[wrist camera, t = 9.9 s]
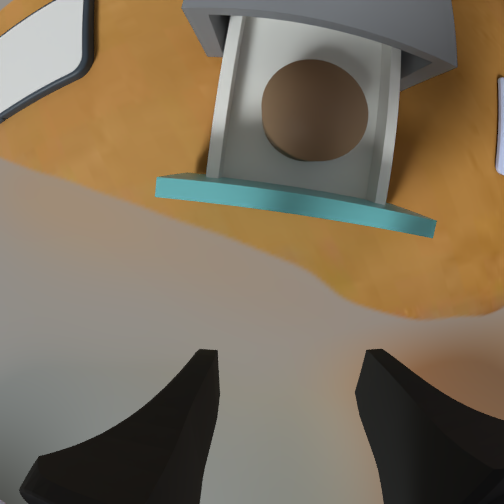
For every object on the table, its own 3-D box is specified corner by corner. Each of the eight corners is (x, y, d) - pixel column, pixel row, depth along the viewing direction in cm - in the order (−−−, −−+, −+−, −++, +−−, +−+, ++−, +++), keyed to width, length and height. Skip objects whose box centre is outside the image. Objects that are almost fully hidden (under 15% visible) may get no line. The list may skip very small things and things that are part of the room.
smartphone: (99, -13, 13) (-28, 69, 14) (90, -22, 12) (-38, 67, 13) (99, 75, 16) (-30, 148, 17) (88, 70, 14) (-42, 149, 15)
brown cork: (351, 89, 14) (372, 73, 10) (340, 168, 15) (361, 170, 12) (267, 74, 14) (268, 51, 10) (256, 154, 15) (254, 152, 12)
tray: (388, 216, 17) (432, 238, 12) (185, 186, 16) (155, 196, 11) (406, 41, 13) (447, 12, 8) (214, 4, 13) (200, -43, 8)
